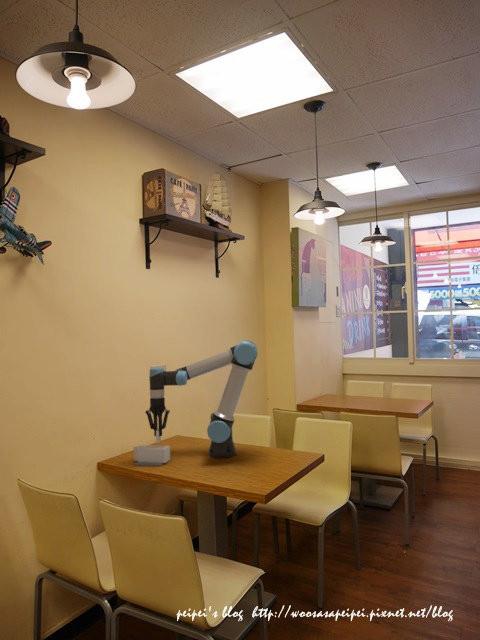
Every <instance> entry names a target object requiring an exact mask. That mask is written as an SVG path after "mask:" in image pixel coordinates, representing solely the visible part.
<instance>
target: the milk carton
mask: <svg viewBox="0 0 480 640" xmlns="http://www.w3.org/2000/svg"><path fill="white" fill-rule="evenodd" d="M170 460H171V445H150V444H149V445H147V444H144V445H143V444H142V445H138V446H133V461H136V462H145V463H164V464H166V463H167V462H169V461H170Z"/></svg>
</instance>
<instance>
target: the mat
mask: <svg viewBox="0 0 480 640" xmlns="http://www.w3.org/2000/svg"><path fill="white" fill-rule="evenodd" d="M163 464H165V463H145V462H138V461H136V462H135V463H134V466H135V467H161V466H163Z"/></svg>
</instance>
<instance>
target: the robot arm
mask: <svg viewBox="0 0 480 640" xmlns="http://www.w3.org/2000/svg"><path fill="white" fill-rule="evenodd" d="M257 357H258V348H257V346H256V344H255V343H254V342H253V341H250V340H243V341H240V342H239V343H237V344H236V345H233V346H231V347H229V349H228V350H225V351H223V352H220V353H218V354H215V355H212V356H210V357H208V358H207V357H206V358H204V359H202V360H199V361H196V362H193V363H190V364H188V365H185V366H183V367H179V368H176V369H175V370H172V371H170V370H169V371H168V370H167V371H166V370H165V368H164V367H151V368H150V369H149V397H150V399H149V405H150V406H149V408H148V409H147V410H145V414H146V417H147V420H148V424H149V427H150V430H153V431H154V433H153V435H154V437H155V438H156V439H155V441H156V442H155V443H156V444H160V443H161V442H162V441H161V438H162V436H163V430H164V429H166V427H167V422H168V417H169V414H170V412H171V410H170V409H167V406H166V403H165V402H166V400H165V399H166V398H165V386H178V387H179V386H180V387H181V386H186V385H187V383H188V381H189V380H192V379H195V378H197V377H199V376H202V375H205V374H207V373H211V372H213V371H217V370H219V369H222V368H225V367H228V366H230V365H231V369H230V373H229V375H228V378H227V381H226V384H225V388H224V390H223V392H222V395H221V399H220V402H219V405H218V407H217V410H214V411H213V412H211V413H210V416H209V417H210V421H209V424H208V426H207V429H206V432H207V436H208V438H209V440H210V445H209V448H208V456H209V457H211V458H214V459H215V458H216V459H224V458H230V457H234V456H236V455H237V448H236V445H235V442H234V439H233V427H234V426H233V425H234V423H235V421H236V419H235V417H234V414H235V411H236V408H237V405H238V402H239V399H240V396H241V393H242V390H243V387H244V384H245V382H246V379H247V376H248V373H249V372H250V371H252V370H253V368H254V365H255V361H256V359H257ZM163 414H164V417H163Z"/></svg>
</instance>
